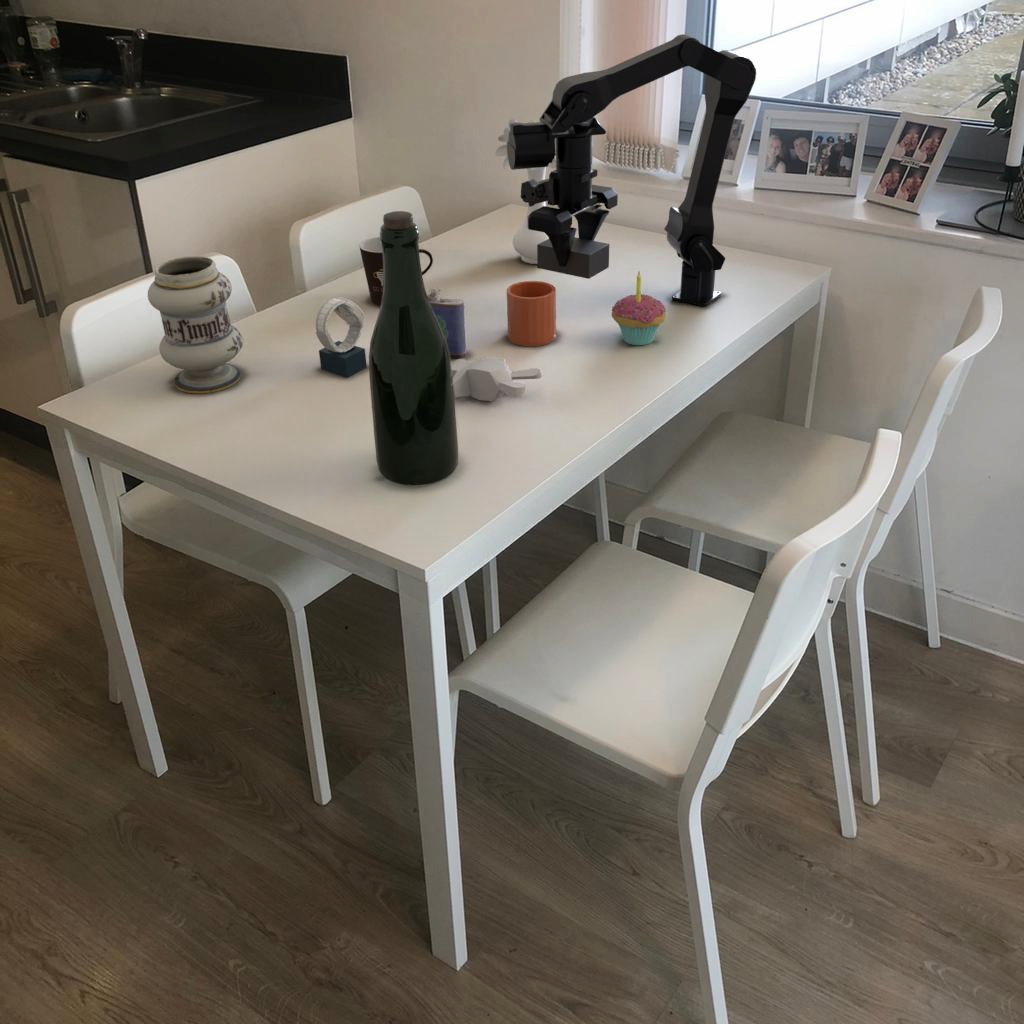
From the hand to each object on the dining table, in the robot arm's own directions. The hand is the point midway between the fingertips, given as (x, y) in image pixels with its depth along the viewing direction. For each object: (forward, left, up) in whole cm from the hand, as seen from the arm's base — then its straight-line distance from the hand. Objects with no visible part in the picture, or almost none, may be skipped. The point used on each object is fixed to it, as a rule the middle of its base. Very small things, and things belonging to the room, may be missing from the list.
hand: (573, 260), depth 177 cm
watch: (+38, -18, -9) cm, 43 cm away
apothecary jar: (+52, -33, -9) cm, 62 cm away
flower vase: (-19, -19, -9) cm, 29 cm away
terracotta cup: (+13, 0, -9) cm, 16 cm away
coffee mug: (+12, -29, -9) cm, 32 cm away
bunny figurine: (+34, +6, -9) cm, 35 cm away
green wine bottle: (+56, +11, -9) cm, 58 cm away
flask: (+26, -9, -9) cm, 29 cm away
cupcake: (+5, +15, -9) cm, 18 cm away
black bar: (0, 0, -1) cm, 1 cm away
